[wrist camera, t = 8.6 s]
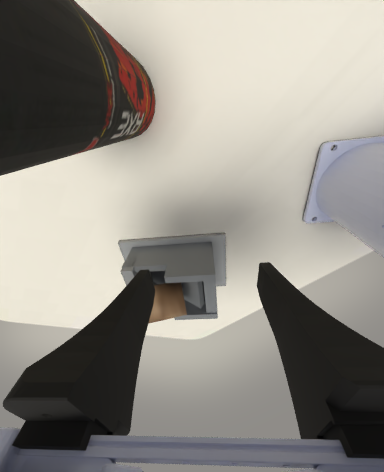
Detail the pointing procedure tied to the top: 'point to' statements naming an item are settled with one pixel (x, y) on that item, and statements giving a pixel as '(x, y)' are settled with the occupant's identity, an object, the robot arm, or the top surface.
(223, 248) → the socket
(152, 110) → the deodorant
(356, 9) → the top surface
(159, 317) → the dowel
